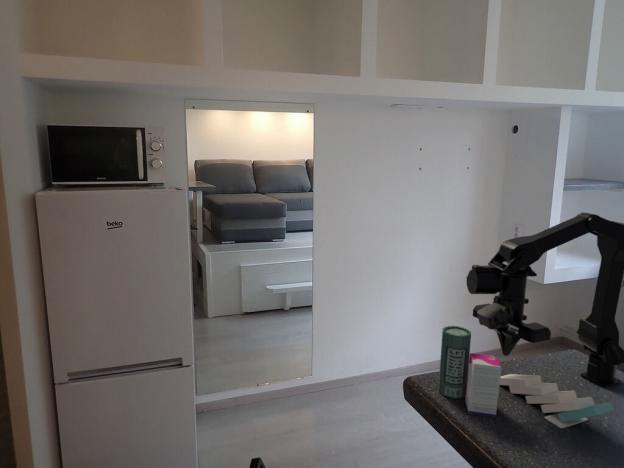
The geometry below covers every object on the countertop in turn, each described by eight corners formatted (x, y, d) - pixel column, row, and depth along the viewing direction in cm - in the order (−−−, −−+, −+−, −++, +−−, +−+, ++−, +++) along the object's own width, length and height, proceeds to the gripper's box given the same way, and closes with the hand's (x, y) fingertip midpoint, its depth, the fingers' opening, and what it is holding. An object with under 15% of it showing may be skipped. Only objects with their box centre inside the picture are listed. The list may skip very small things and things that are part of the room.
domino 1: (494, 377, 109) (524, 379, 101) (510, 374, 111) (540, 375, 103) (496, 384, 109) (525, 387, 101) (511, 380, 111) (541, 382, 103)
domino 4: (540, 405, 97) (574, 401, 90) (556, 400, 99) (591, 396, 92) (543, 413, 97) (577, 409, 89) (559, 408, 99) (594, 404, 91)
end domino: (577, 417, 95) (614, 410, 87) (561, 422, 93) (596, 415, 86) (574, 409, 95) (610, 401, 88) (557, 414, 94) (592, 406, 86)
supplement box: (497, 417, 95) (502, 367, 93) (467, 413, 96) (472, 363, 94) (491, 403, 100) (496, 355, 98) (464, 399, 101) (468, 352, 100)
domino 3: (525, 396, 101) (557, 395, 93) (541, 392, 103) (574, 390, 95) (527, 403, 100) (560, 403, 93) (543, 399, 102) (577, 398, 94)
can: (464, 386, 107) (469, 327, 105) (466, 399, 101) (472, 337, 99) (438, 383, 109) (442, 324, 106) (439, 396, 103) (443, 334, 100)
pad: (570, 410, 98) (570, 409, 98) (587, 420, 94) (588, 419, 94) (544, 418, 95) (544, 416, 95) (561, 428, 91) (561, 427, 91)
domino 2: (509, 386, 105) (540, 387, 97) (524, 382, 107) (556, 383, 99) (510, 393, 105) (542, 395, 97) (526, 389, 107) (558, 390, 99)
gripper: (458, 286, 111) (453, 345, 114) (518, 309, 94) (511, 378, 97) (492, 282, 116) (486, 338, 118) (556, 304, 99) (548, 369, 101)
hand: (505, 355), depth 109 cm, fingers closed
